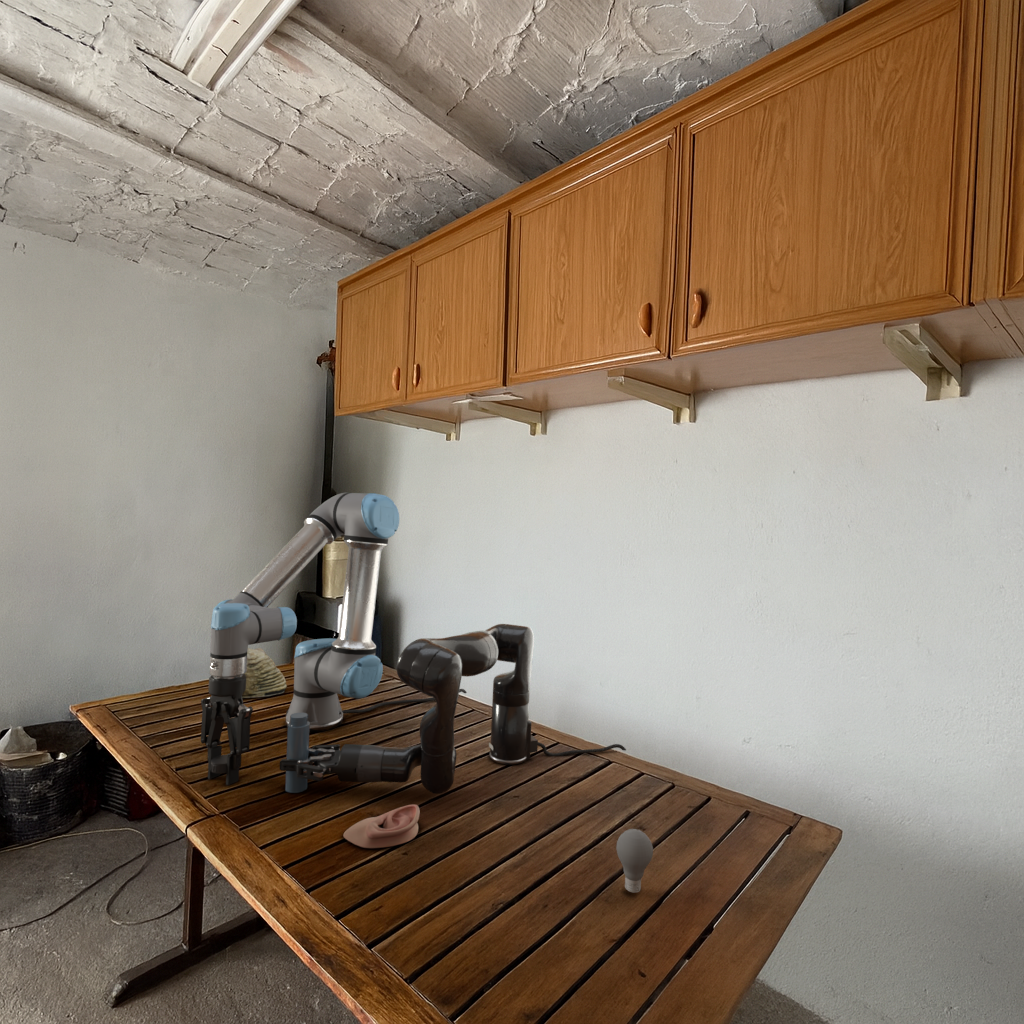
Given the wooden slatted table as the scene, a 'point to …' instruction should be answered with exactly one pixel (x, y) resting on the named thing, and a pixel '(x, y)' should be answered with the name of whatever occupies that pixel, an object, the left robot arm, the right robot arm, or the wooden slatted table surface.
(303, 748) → the blue-grey cylindrical bottle
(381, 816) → the anatomical model
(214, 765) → the lid
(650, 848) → the light bulb
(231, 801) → the wooden slatted table surface
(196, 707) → the wooden slatted table surface
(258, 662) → the fossil
